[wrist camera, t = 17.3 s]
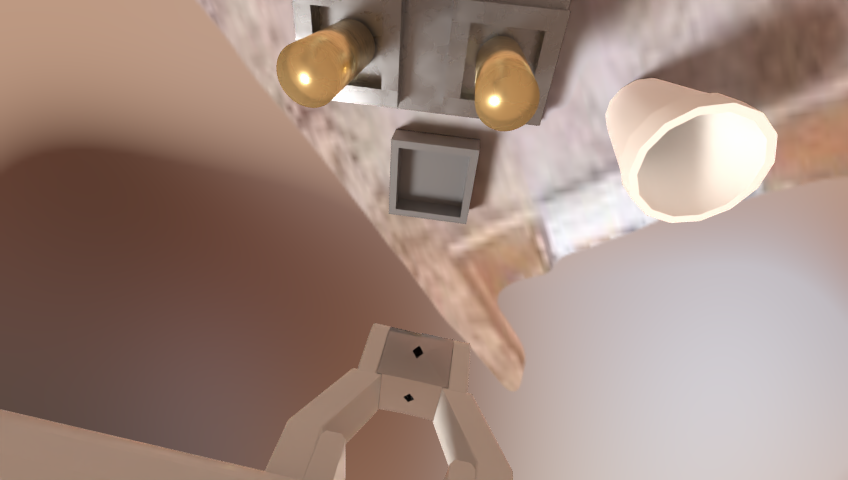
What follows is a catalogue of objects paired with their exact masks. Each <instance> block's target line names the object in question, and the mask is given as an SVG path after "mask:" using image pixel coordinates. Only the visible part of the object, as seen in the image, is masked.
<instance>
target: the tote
mask: <svg viewBox="0 0 848 480" xmlns="http://www.w3.org/2000/svg"><path fill="white" fill-rule="evenodd" d="M479 151H480V140H479V139H471V138H463V137H455V136H447V135H439V134H431V133H423V132H415V131H407V130H399V129H396V131H395V133H394V135H393V137H392V139H391V162H390V192H389V214H394V215H402V216H409V217H417V218H424V219H432V220H439V221H446V222H454V223H461V224H466V222H467V217H468V211H469V206H470V200H471V195H472V190H473V184H474V179H475V173H476V168H477V162H478V157H479Z"/></svg>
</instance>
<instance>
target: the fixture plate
mask: <svg viewBox="0 0 848 480" xmlns="http://www.w3.org/2000/svg"><path fill="white" fill-rule="evenodd" d="M570 2H571V0H292V7H293V16H294V26H295V35H296V41H298V40H300V39H302V38H304V37H306V36H309V35H311V34H313V33H315V32H317V31H320V30H322V29H324V28H326V27H328V26H330V25H333V24H335V23H337V22H339V21H341V20H344V19H354V20H357V21H359V22H361V23H363V24H364V25H365V26H366V27H367V28H368V29H369V31H370V32H371V34H372V36H373V39H374V44H375V51H374V56H373V58H372V60H371V62H370V63H369V64H368V65H367V66H366V67H365V68H364V69H363V70H362V71H361V72H360V73H359V74H358V75H357V76H356V77H355V78H354V79H353V80H352V81H351V82H350V83H348V84H347V85H346V86H345V87H344V88H343V89H342V90H341V91H340V92H339V93H338V94H337V95H336V96H335V97H334V98H333V99H332V101H340V102H348V103H356V104H365V105H373V106H381V107H389V108H397V109H405V110H414V111H422V112H430V113H438V114H446V115H454V116H463V117H471V118H479V116H478V115H477V112H476V109H475V72H476V57H477V54H478V52H479V50H480V48H481V47H482V45H483V44H484V43H485V42H486V41H488V40H489V39H491V38H494V37H497V36H506V37H510V38H512V39H513V40H515V41H516V42H517V43H518V44H519V46H520V47H521V49H522V52H523V54H524V56H525V58H526V60H527V62H528V64H529V67H530V69H531V71H532V73H533V75H534V77H535V80H536V82H537V84H538V87H539V92H540V99H539V105H538V108H537V110H536V112H535V114H534V115H533V117H532V118H531V119H530V120H529V121H528V122H527V123H526V124H528V125H536V126H537V125H539V126H540V122H541V119H542V115H543V111H544V108H545V104H546V100H547V97H548V93H549V89H550V85H551V82H552V78H553V74H554V71H555V67H556V63H557V60H558V56H559V52H560V49H561V45H562V41H563V38H564V34H565V30H566V27H567V23H568V19H569V16H570V12H571V11H569V10H568V9H569V5H570ZM479 119H480V118H479Z"/></svg>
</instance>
